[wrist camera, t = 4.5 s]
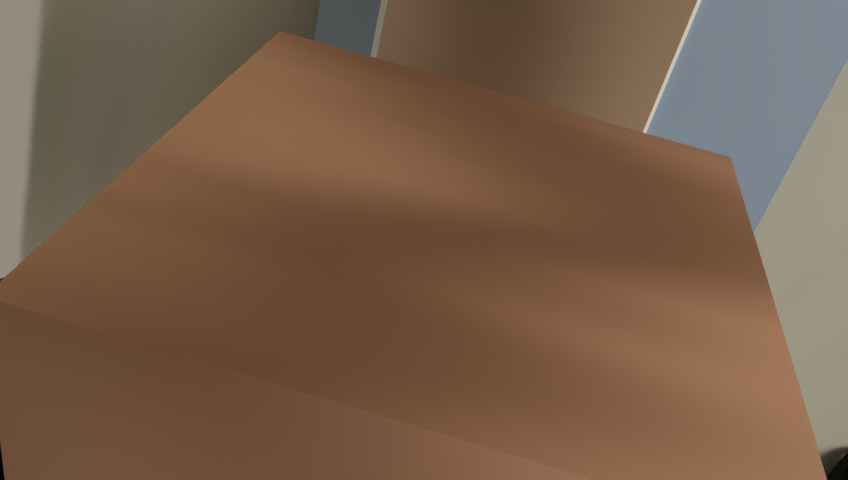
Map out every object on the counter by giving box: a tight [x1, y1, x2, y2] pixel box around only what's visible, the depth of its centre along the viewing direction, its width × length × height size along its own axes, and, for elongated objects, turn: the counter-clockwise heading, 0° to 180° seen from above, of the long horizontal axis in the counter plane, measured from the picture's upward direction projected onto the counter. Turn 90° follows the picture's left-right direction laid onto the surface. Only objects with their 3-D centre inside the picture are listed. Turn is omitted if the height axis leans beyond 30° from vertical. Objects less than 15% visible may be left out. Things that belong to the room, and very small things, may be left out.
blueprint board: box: [314, 0, 848, 232], centre depth 22 cm, size 12×19×1 cm, turn 167°
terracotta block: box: [0, 31, 827, 480], centre depth 8 cm, size 5×5×5 cm
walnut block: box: [376, 0, 697, 132], centre depth 17 cm, size 5×5×5 cm
